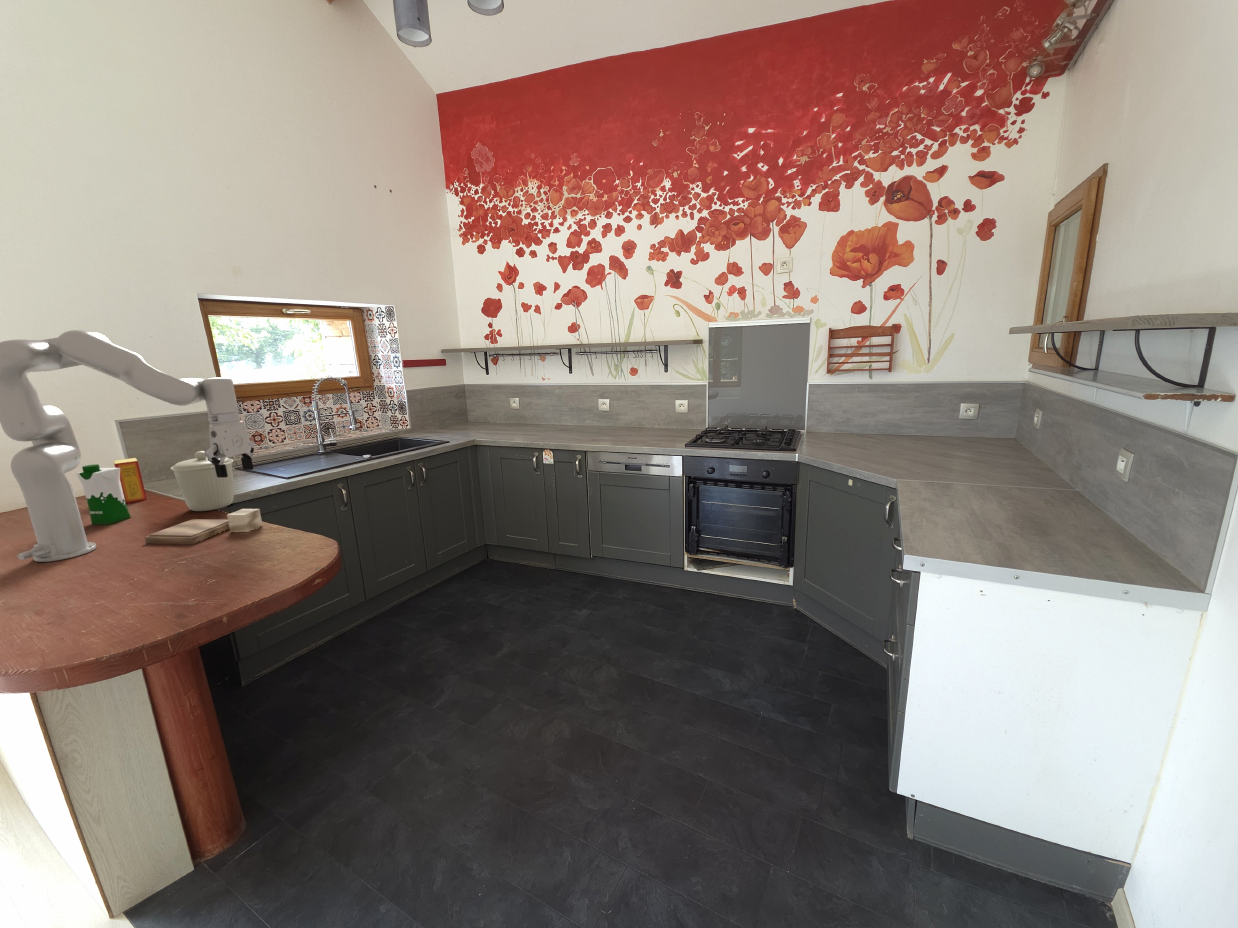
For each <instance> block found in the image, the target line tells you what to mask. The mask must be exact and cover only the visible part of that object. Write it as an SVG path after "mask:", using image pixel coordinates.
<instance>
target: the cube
mask: <svg viewBox="0 0 1238 928" xmlns="http://www.w3.org/2000/svg"><path fill="white" fill-rule="evenodd" d="M226 516H227V520H228V522H229V527H230V529H229V533H231V532H235V531H237V532H246V531H249V530H252V529H256V528H258V527H260V525H263V521H262V516H261V509H260V508H241V509H238V510H237V511H233V512H231V513H228V514H226ZM261 523H262V524H261ZM258 529H259V528H258ZM256 530H257V529H256Z"/></svg>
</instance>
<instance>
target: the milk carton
mask: <svg viewBox="0 0 1238 928" xmlns="http://www.w3.org/2000/svg"><path fill="white" fill-rule="evenodd" d="M81 468H82V471H80V472H76V476H77V478H78V479H79V482H80V483H81V485H82V487H83V491H84V495H85V500H86V503H87V506H88V511H89V516H90V522H91V525H113V524H115V523H118V522H122V521H124V520H128V519H131V518H132V516H131V514H130V512H129V509H128V505H127V503H126V502H125V498H124V494H123V490H122V486H121V482H120V468H115V467H100V465H99V464H96V463H95V464H88V465H83V466H82V467H81Z"/></svg>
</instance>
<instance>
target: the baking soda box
mask: <svg viewBox="0 0 1238 928" xmlns="http://www.w3.org/2000/svg"><path fill="white" fill-rule="evenodd" d="M138 461H139V460H138V459H137V458H136V457H132V458H125V459H124V458H123V459H117V460H116V459H115V460H113V461H112V462H113V466H114V468H120V482H121V486H122V490H123V494H124V498H125V502H126V504H130V503H136V502H142V501H147V500H148V497H147V494H146V489H145V486H144V482H143V478H142V474H141V469H140V465H139V462H138Z"/></svg>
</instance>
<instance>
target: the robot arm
mask: <svg viewBox="0 0 1238 928" xmlns="http://www.w3.org/2000/svg"><path fill="white" fill-rule="evenodd" d="M78 366H79V367H80V366H85V367H88V368H90V369H92V370H94V371H97V372H99V373H102V374H105V375H108V376H110V377H112V378H115V379H118V380H120V381H122V382H123V383H125V384H126V385H128V386H130V387H131V388H134V389H135V390H137V391H139V392H141V393H143V394H145V395H147V396H150V397H152V398H154V399H158V400H160V401H162V402H166V403H168V404H170V405H175V406H179V407H180V406H181V407H184V406H185V407H186V406H189V405H193V404H197V403H203V402H205V406H206V411H207V414H208V415H207V416H208V418H207V421H208V422H209V426H208V433H209V435H208V436H209V444H210V447H208V449H206V451H204V452H205V453H204V455H205V456H206V457H207V459H208V461H210V462H211V463H212V465H215V470H216V475H217V477H218V478H226V477H228V474H227V469H226V465H225V464H223V463H224V461H225V459H226V457H228V458H232V457H236V456H239V455H241V457H240V460H241V465H242V470H243V471H251V470H254V464H253V459H252V457H253V453H254V451H255V445H256V443H255V441H253V440H250V437H249V434H248V430H247V428H246V426H245V423H244V421H243V420H241V415H240V412H239V407H238V402H237V401H238V400H237V396H236V392H235V385H234V383H233V382H234V381H233V380H232V379H231V378H229V377H225V376H223V377H222V376H221V377H208V378H196V377H194V378H193V377H187V378H185V377H184V378H178V377H175V376H174V375H171V374H168V373H166V372H164V371H161V370H159V369H157V368H155V367H153V366H151V365H149V364H148V363H147V362H146V361H145V360H144V357H142V356H141V355H140V354H138V353H136V352H135V351H134V352H133V351H131V350H128V349H126V348H124V347H121V346H119V345H117V344H114V343H112V342H111V341H110V340H109V338H108V337H106V336H105V335H103V334H102V333H100V332H96V331H93V330H91V331H90V330H77V329H75V330H72V329H71V330H67V331H64V332H62V333H61V334H60V335H59V336H58V337H53V338H46V339H41V340H40V339H8V340H4V341H0V426H1V428H2V430H3V432H4V434H5V435H6V436H7V437H9V438H10V439H12V440H13V441H17V442H25V443H26V442H31V444H32V445H31V446H28V447H25V448H23V449H21V450H19V451H17V453H15V454H14V455H13V457H12V458H11V461H10V471H11V473H12V475H13V477H14V478H15V480H16V482H17V483H18V485H19V488H20V491H21V492H22V495H23V498H24V501H25V502H24V503H25V505H26V507H27V511H28V515H29V518H30V520H31V521H30V522H31V525H32V528H33V531H34V535H35V538H36V539H35V540H36V542H37V543H35V544H33V547H32V548H31V549H30V550H26V551H24V552H21V553H20V552H19V553H18V554H17V558H18V560H20V561H24V560H27V559H30V558H33V561H35V562H40V563H47V562H56V561H61V560H66V559H70V558H75V557H79V556H81V555H85V554H87V553H90V552H92V551H94V550H95V549H96V548H97V544H96V542H93V541H92V542H91V541H88V539H87V536H86V535H87V534H86V532H85V528H84V524H83V520H82V517H81V513H80V509H79V506H78V501H77V498H76V496H75V492H74V489H73V486H72V484H71V483H70V481H69V479H68V478H67V476H66V473H69V472H71V471H73V470H74V469H76V468H78V466H79V465H80V463H81V460H82V452H81V449H80V446H79V443H78V440H77V438H76V435H75V432H74V430H73V428H72V425H71V421H70V420H69V418H68V417H67V415H66V414H65V413H64V412H63V411H62V410H61V409H60V408H58V407H56V406H54V405H51V404H46V403H42V402H41V400H40V398H39V395H38V392H37V389H36V387H35V386H34V385H33V384H34V383H32V381H30V379H29V378H28V374H29V373H37V372H38V373H39V372H40V373H41V372H50V371H58V370H62V369H67V368H68V369H69V368H73V367H78ZM219 458H220V460H219Z"/></svg>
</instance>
